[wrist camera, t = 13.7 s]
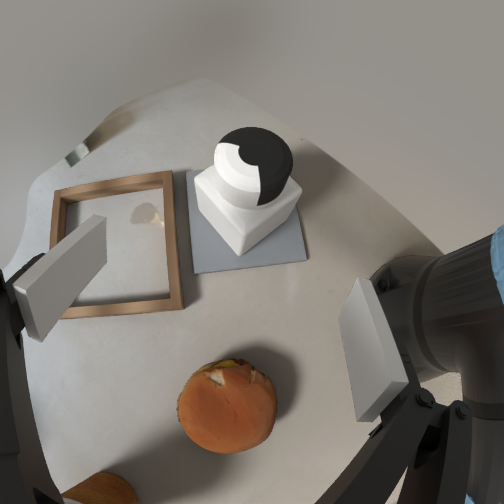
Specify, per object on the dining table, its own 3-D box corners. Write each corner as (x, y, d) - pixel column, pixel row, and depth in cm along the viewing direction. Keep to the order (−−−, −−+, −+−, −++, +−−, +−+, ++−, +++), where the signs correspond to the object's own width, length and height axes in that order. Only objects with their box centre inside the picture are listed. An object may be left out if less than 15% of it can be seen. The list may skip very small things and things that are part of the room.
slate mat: (285, 165, 36) (286, 163, 35) (305, 260, 33) (307, 259, 32) (186, 173, 34) (185, 171, 34) (194, 274, 31) (194, 273, 31)
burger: (216, 459, 26) (216, 476, 22) (162, 392, 28) (152, 401, 23) (291, 408, 29) (303, 419, 24) (239, 341, 30) (242, 341, 26)
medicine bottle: (247, 173, 34) (259, 104, 23) (288, 218, 33) (321, 161, 22) (197, 208, 33) (187, 145, 21) (238, 258, 32) (249, 213, 20)
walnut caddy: (173, 178, 34) (171, 170, 32) (184, 309, 30) (181, 307, 28) (61, 197, 32) (54, 190, 30) (58, 319, 28) (49, 318, 26)
